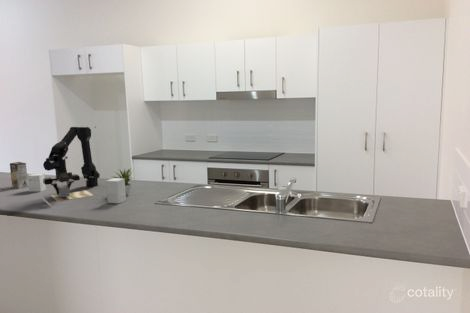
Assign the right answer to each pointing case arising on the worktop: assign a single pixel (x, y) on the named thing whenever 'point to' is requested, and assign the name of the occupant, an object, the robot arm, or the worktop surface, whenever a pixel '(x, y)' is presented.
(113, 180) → the supplement box
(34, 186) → the small box
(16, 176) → the coffee box
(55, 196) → the board
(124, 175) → the house plant
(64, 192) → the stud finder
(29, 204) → the worktop surface
